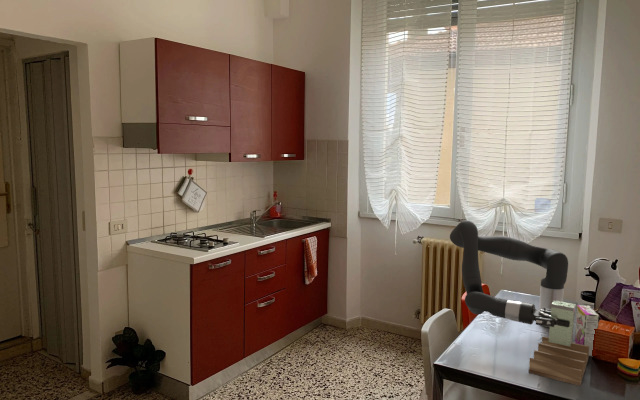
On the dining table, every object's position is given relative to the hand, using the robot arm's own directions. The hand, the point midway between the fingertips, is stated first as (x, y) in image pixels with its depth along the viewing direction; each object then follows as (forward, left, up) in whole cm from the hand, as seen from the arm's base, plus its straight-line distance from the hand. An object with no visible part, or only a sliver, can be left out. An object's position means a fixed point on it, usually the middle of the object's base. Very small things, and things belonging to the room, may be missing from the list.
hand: (570, 321), depth 172 cm
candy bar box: (-20, +4, -17) cm, 27 cm away
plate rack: (0, -3, -17) cm, 17 cm away
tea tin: (0, -3, -8) cm, 8 cm away
